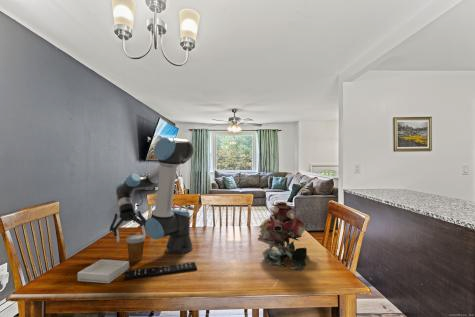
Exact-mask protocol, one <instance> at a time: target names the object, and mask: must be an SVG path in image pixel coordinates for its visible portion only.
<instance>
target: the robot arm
mask: <svg viewBox="0 0 475 317" xmlns="http://www.w3.org/2000/svg"><path fill="white" fill-rule="evenodd" d="M153 150H154V151H153V152H154V155H155V157H156V159H157V163H158V166H157V167H155V169H153V170H152V171H150V173H149V174H147V175H146V176H140V175H139V174H137V173H130V174H129V175H128V177H127V176H126V179H125V180H124V182H123V183H120V184H119V185H117V186H116V188H115V191H116V192H115V195H116V198H117V199H116V200H117V204H118V210H119V214H118V213H114V216H113V220H112V222H111V224H110V226H109V231H110V232H113V236H114V237H115V238H116V243H120V234H119V233H120V232H119V227H120V226H121V225H122V223H124V222H129V221H130V222H131V221H133V222H135V223H137V225H139V226H141V232H142V235H144V236H145V238H146V236H149V238H151V239H152V240H158V239H159V240H160V239H163V238H166V237H168V239H167V242H166V243H167V244H166V247H165V251H166V252H167V253H169V254H171V255H172V254H174V255H176V254H177V255H178V254H180V255H181V254H184V253H188V252H190V251H192V250H193V247H194V246H193V242H192V239H191V235H190V231H191V229H190V228H191V227H190V222H191V220H190V219H191V216H190V212H189V210H187V209H176V208H175V209H173V201H174V193H175V186H176V185H175V184H176V178H177V172H178V170H177V169H178V167H180V165H184V164H185V163H187V162H188V161H190V159H191V158H192V157H193V155H194V146H193V144H192V143H191V142H190V141H189V140H188V139H185V138H178V137H177V138H176V137H162V138H160V139H159V140H158V141H157V142H156V143H155V146H154V149H153ZM156 187H157V189H156V190H157V192H156V198H155V199H156V200H155V207H154V209H153V210H152V211H151V213H150V214H151V216H150V217H149V218H147V219H146V218H145V217H144V215H142V212H141V211H140V210H139V211H136V212H135V209H134V206H133V200H132V194H133V192H134V191H135V190H142V189H143V190H144V189H152V188H156ZM119 218H120V219H119ZM118 219H119V221H118V222H117V220H118ZM116 222H117V223H116ZM115 224H116V225H115Z"/></svg>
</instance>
